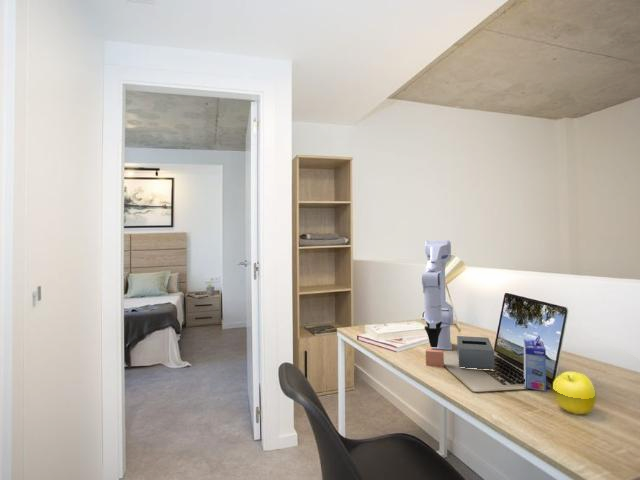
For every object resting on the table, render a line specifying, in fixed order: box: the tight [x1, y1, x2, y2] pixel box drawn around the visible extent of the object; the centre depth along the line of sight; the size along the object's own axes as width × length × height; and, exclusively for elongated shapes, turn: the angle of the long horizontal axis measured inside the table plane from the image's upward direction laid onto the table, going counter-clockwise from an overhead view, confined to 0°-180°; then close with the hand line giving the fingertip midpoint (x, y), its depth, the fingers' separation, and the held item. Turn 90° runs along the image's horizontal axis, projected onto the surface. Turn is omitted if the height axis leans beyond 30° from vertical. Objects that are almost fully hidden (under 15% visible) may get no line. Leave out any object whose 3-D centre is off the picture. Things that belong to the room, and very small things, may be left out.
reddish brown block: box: [425, 348, 445, 368], centre depth 124 cm, size 2×6×5 cm, turn 70°
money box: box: [456, 335, 496, 370], centre depth 125 cm, size 16×11×7 cm
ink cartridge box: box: [523, 335, 547, 392], centre depth 105 cm, size 10×6×14 cm, turn 152°
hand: (434, 344), depth 124 cm, fingers open, 7 cm apart
